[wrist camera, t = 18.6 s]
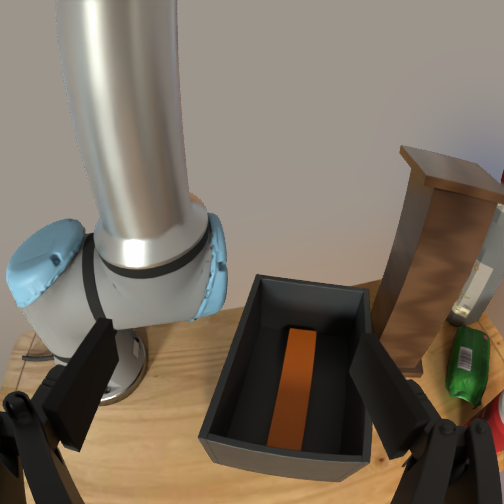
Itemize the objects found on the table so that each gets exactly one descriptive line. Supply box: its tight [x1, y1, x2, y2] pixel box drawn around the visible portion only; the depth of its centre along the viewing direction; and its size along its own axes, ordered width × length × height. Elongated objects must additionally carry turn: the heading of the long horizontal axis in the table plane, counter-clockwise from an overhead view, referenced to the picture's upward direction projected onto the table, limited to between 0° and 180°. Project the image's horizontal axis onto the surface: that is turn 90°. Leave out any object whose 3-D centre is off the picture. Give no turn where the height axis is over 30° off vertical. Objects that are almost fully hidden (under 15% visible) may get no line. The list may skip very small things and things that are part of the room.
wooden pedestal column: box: [371, 145, 504, 377], centre depth 33 cm, size 11×10×30 cm
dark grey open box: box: [198, 274, 373, 482], centre depth 33 cm, size 16×24×11 cm, turn 167°
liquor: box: [446, 171, 504, 327], centre depth 38 cm, size 9×9×30 cm
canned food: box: [464, 390, 504, 454], centre depth 22 cm, size 8×8×11 cm
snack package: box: [446, 326, 490, 409], centre depth 34 cm, size 7×16×5 cm, turn 145°
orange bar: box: [266, 328, 317, 451], centre depth 35 cm, size 4×20×2 cm, turn 167°
